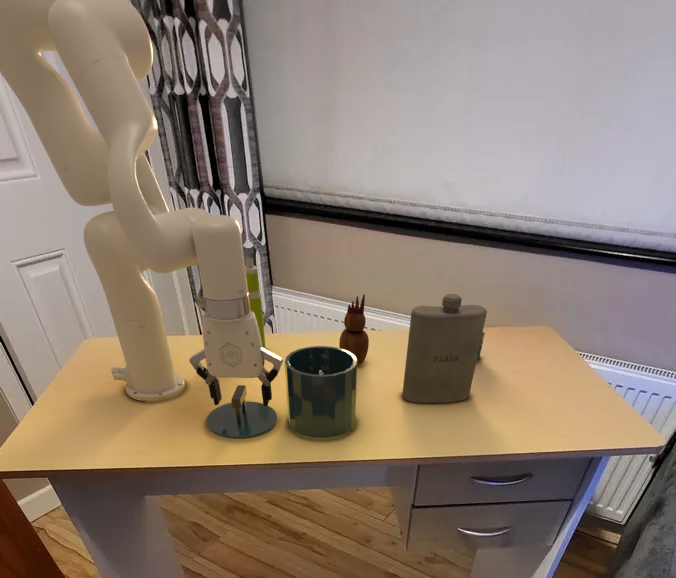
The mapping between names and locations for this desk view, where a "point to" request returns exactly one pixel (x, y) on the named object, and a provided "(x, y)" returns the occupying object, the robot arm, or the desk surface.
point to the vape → (255, 295)
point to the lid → (241, 417)
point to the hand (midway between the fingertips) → (242, 402)
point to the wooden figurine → (355, 332)
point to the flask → (442, 351)
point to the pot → (321, 391)
